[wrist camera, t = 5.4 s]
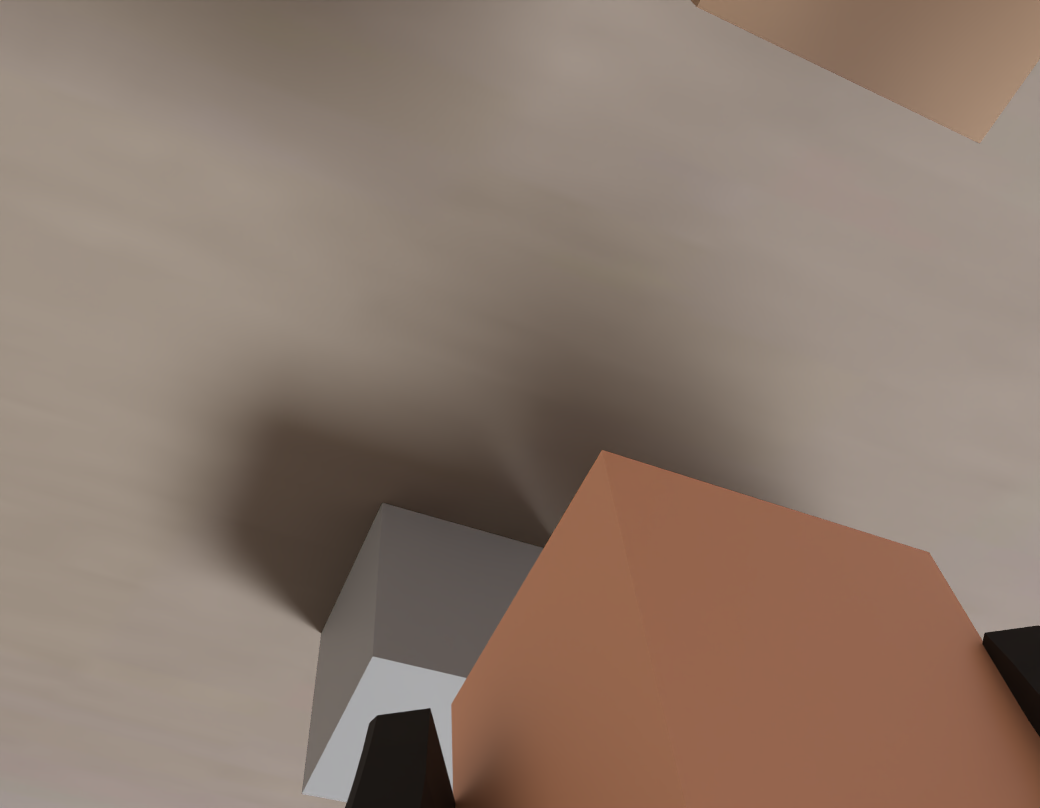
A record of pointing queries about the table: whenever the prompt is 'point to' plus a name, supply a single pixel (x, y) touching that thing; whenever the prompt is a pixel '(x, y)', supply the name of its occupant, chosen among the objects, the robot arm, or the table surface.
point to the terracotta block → (733, 666)
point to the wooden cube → (908, 49)
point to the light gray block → (406, 634)
